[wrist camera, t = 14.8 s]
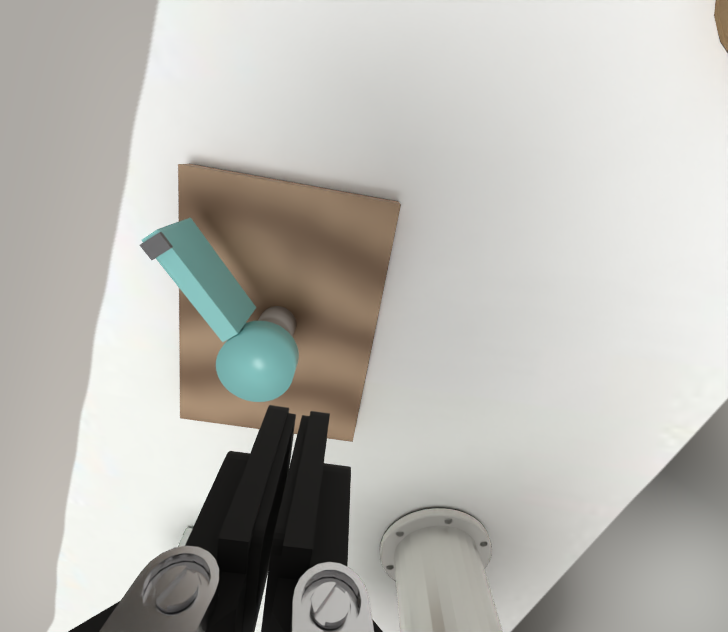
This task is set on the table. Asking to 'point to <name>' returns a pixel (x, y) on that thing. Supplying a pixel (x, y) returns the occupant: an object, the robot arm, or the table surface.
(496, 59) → the table surface
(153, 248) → the teal lever handle
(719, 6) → the alarm clock
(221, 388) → the post block
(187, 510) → the table surface
